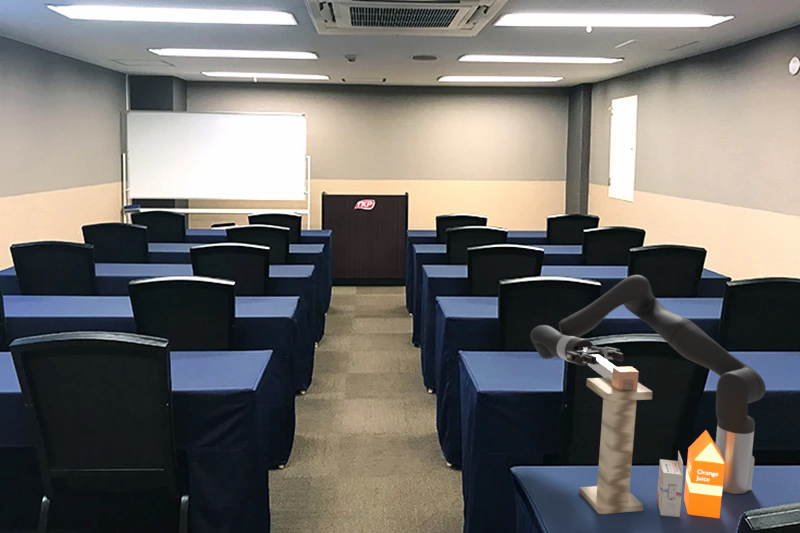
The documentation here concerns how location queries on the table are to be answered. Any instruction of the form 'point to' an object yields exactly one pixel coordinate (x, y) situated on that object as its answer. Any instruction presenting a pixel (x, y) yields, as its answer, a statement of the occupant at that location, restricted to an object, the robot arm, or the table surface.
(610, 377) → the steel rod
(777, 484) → the table surface
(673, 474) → the ink cartridge box
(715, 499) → the orange juice
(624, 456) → the birch stand
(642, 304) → the robot arm
